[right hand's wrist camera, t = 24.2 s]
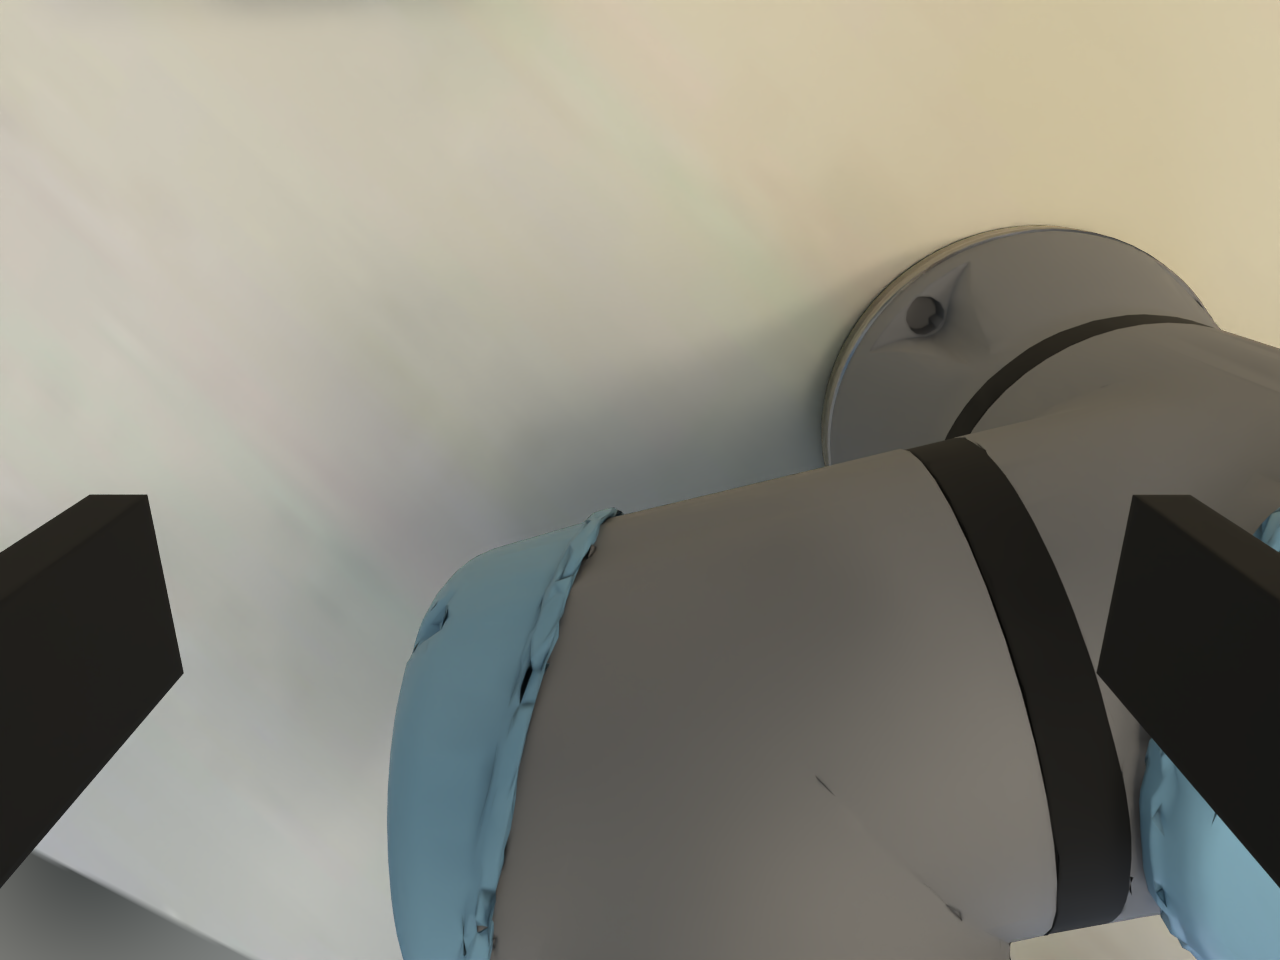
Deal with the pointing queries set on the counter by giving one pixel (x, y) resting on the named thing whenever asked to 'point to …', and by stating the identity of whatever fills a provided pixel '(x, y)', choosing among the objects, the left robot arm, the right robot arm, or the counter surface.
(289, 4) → the counter surface
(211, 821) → the counter surface
